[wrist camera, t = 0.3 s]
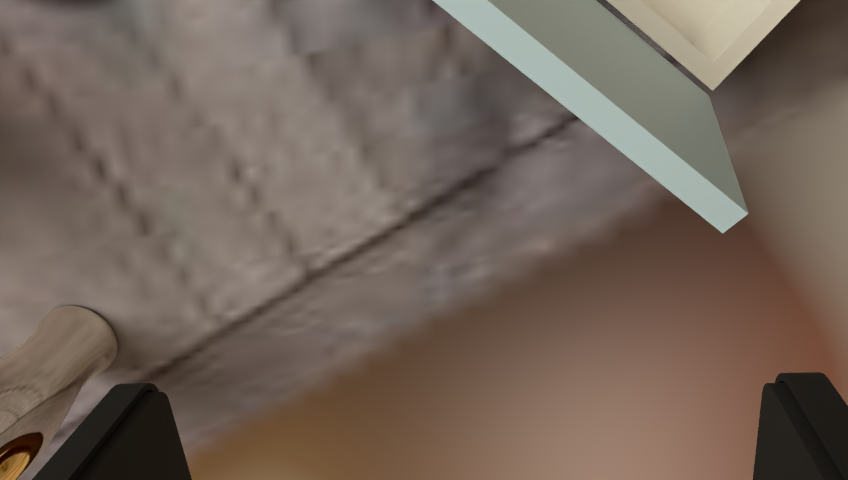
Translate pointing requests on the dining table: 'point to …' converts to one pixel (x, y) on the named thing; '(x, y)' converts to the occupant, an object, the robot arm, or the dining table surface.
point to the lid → (616, 92)
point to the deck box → (706, 30)
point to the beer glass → (48, 382)
